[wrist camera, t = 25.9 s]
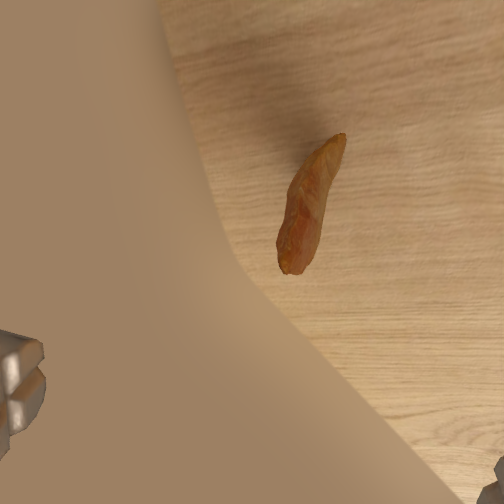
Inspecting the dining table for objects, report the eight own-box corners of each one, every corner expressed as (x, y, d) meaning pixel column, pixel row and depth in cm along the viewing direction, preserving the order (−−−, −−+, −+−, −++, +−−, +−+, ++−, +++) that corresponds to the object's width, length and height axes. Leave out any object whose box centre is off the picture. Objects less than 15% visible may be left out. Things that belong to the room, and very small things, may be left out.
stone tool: (309, 116, 27) (277, 181, 13) (348, 124, 26) (357, 197, 13) (293, 197, 29) (251, 325, 15) (329, 205, 29) (318, 341, 15)
